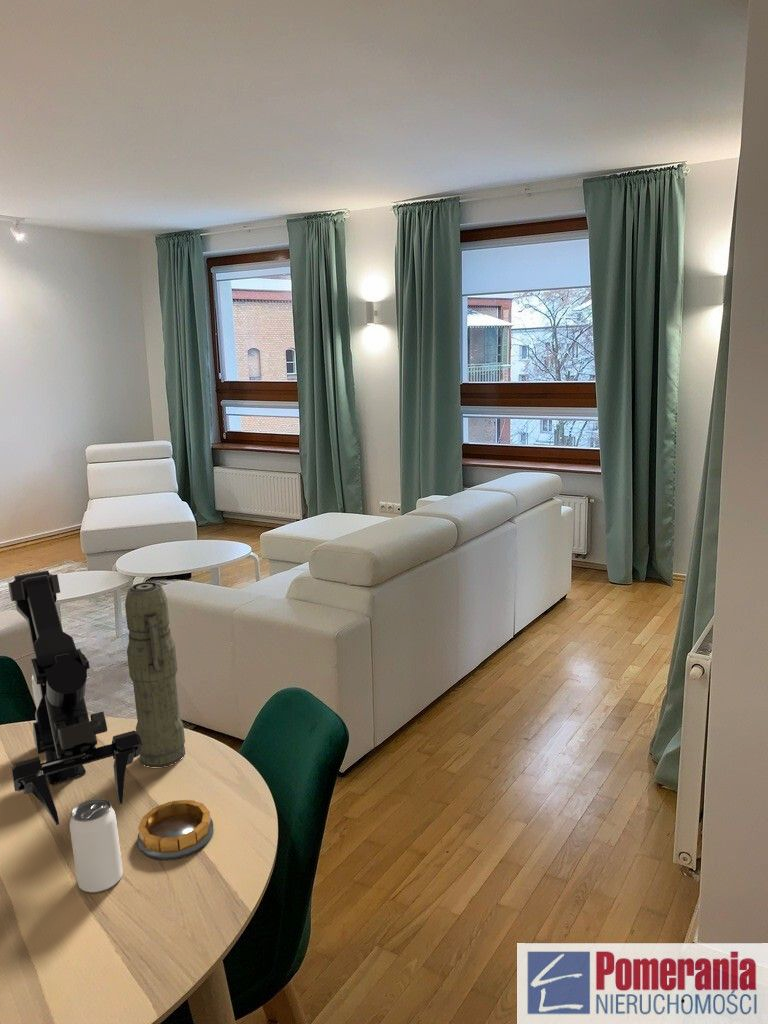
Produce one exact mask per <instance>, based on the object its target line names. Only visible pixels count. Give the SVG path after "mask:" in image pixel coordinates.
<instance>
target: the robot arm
mask: <svg viewBox="0 0 768 1024" xmlns="http://www.w3.org/2000/svg"><path fill="white" fill-rule="evenodd" d="M13 579H14V580H13V581H10V582H8V592H9V597H10V601H11V602H14V604H15V609H16V611H17V612H18V613H19V615H21V616H22V617H23V618H24V620H26V621H27V626H28V631H29V636H30V640H31V646H32V652H33V653H32V654H33V658H31V659H30V664H31V671H32V675H33V677H34V680H35V682H36V684H39V687H40V692H41V700H40V703H39V705H38V708H37V707H36V710H35V713H34V714H35V715H34V716H35V722H32V733H33V740H34V745H35V749H36V752H37V754H38V755H40V754H42V753H44V756H45V762H41V759H40V756H36V757H33V758H32V757H31V758H29V759H25V760H21V761H18V762H15V763H14V764H13V765H12V766H11V776H12V782H13V788H14V792H22V791H24V794H25V795H30V794H32V795H34V797H35V798H36V799H37V800H38V801H39V802H40V803H41V804H42V806H43V807H44V808H45V810H46V812H47V813H48V814H49V816H50V818H51V819H52V821H53V822H54V824H55V825H56V826H58V825H60V820H59V815H58V811H57V808H56V805H55V802H54V799H53V796H52V793H51V791H50V787H49V785H51V786H52V785H55V784H57V783H58V784H59V783H61V782H65V781H67V780H70V779H73V778H76V777H78V776H82V775H85V774H86V773H87V771H86V768H85V767H84V765H85V764H86V765H87V764H90V763H93V762H97V761H100V760H104V759H108V758H111V757H112V758H113V760H114V762H113V774H114V780H115V789H116V790H115V791H116V797H117V800H118V804H119V805H120V806H121V805H123V802H124V801H123V800H124V793H125V792H124V791H125V790H124V789H125V776H126V770H127V766H128V765H131V764H133V763H134V762H133V761H134V759H135V758H137V757H140V751H141V747H142V742H141V738H140V735H139V733H138V732H136V730H131V731H127V732H124V733H120V734H116V735H113V736H112V739H111V743H109V744H106V745H102V746H99V747H96V746H97V745H98V739H97V735H99V734H104V733H107V732H108V725H107V721H106V717H105V713H104V711H99V712H96V713H95V712H94V713H92V714H90V716H89V711H88V708H87V705H86V704H87V703H86V700H85V696H86V695H85V694H86V687H87V681H88V679H87V678H88V669H90V661H89V660H88V658H87V657H86V655H85V654H84V653H83V652H82V650H81V649H80V648H77V646H76V643H75V640H74V638H73V636H71V635H70V634H68V633H66V632H64V630H63V627H62V623H61V620H60V616H59V612H58V609H57V604H56V602H57V599H58V598H57V594H61V588H60V583H59V575H58V574H52V573H50V572H49V570H43V571H37V572H30V573H23V574H18V575H14V577H13ZM48 783H49V784H48Z"/></svg>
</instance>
